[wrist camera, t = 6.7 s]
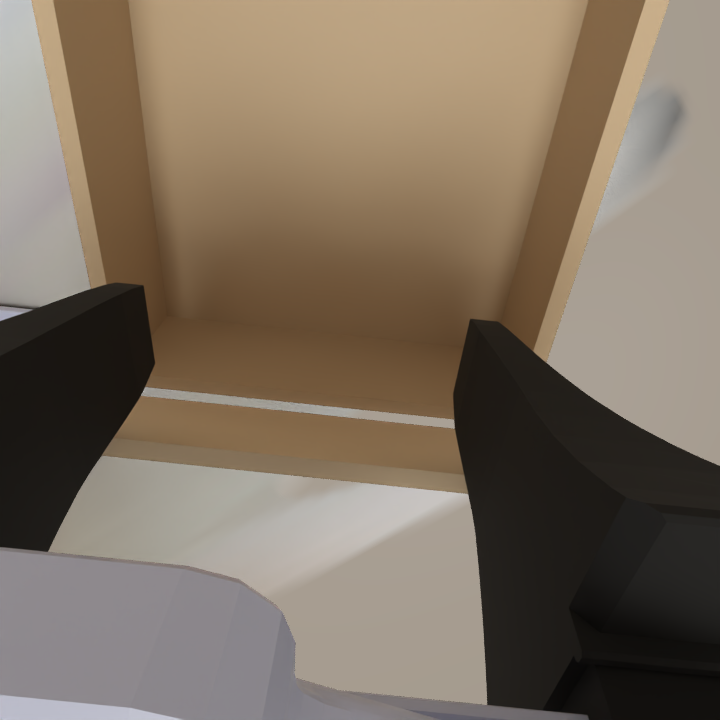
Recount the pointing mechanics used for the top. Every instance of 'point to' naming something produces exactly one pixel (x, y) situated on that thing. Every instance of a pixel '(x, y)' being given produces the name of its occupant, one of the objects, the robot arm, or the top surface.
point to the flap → (291, 444)
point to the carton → (340, 178)
